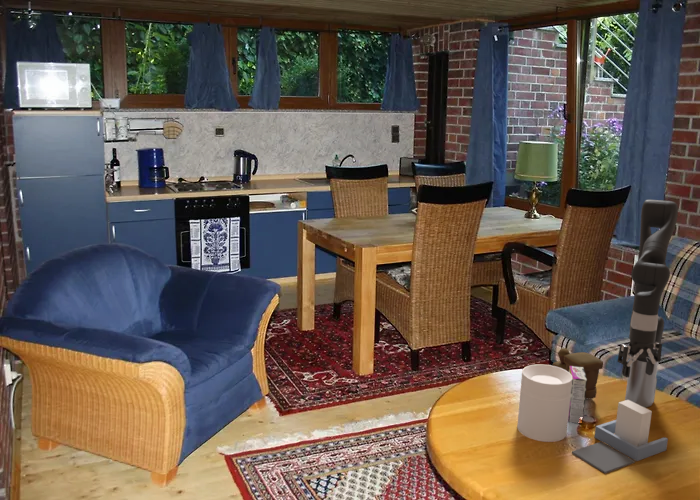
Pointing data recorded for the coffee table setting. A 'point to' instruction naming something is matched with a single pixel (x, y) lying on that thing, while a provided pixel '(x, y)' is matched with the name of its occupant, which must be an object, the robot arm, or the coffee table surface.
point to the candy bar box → (577, 393)
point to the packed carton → (633, 422)
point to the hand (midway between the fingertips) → (637, 375)
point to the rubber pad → (603, 457)
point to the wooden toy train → (585, 361)
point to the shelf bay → (637, 453)
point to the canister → (544, 402)
